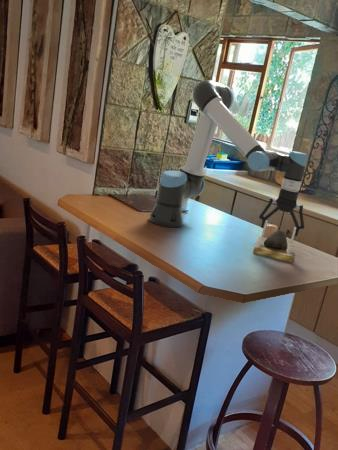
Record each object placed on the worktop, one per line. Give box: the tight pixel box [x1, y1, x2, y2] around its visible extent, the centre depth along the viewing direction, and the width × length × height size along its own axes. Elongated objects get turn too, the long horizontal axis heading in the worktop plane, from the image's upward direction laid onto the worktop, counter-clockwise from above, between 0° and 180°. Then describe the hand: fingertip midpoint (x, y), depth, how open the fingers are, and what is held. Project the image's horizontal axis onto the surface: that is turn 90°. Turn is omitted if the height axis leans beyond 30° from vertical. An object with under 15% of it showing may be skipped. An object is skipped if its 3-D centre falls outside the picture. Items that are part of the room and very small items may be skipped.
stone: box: [264, 230, 288, 250], centre depth 187 cm, size 10×8×10 cm
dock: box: [252, 235, 295, 263], centre depth 189 cm, size 16×18×3 cm
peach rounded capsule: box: [261, 222, 279, 238], centre depth 205 cm, size 6×6×7 cm
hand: (276, 239), depth 188 cm, fingers open, 11 cm apart
